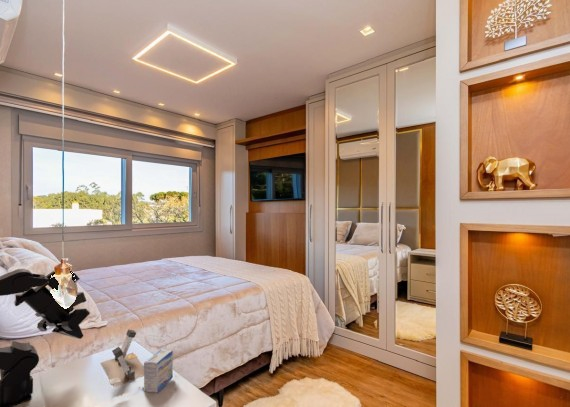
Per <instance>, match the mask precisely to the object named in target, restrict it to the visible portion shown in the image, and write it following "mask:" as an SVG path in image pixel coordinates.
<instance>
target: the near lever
mask: <svg viewBox="0 0 570 407" xmlns="http://www.w3.org/2000/svg"><path fill="white" fill-rule="evenodd" d="M111 352H112V354H113V356H114V358H115V357H116V359H117V358H118V360H119V362H120V364H121V366H122V368H123V370H124V372H125V374H126V375H127V377H128V373H129V372H131V371H130V369H129V367H128V365H127V364H126V362H125V360H124V358H123V356H122V355H123V352H122V350H121V347H120V346H117V347H115V348H114V349H113V350H111Z"/></svg>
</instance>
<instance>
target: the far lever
mask: <svg viewBox="0 0 570 407" xmlns="http://www.w3.org/2000/svg"><path fill="white" fill-rule="evenodd" d="M136 335H137V332H136V331H135V330H133V329H127V331H126V336H125V338H124V341H123V344H122V346H121V347H120V349H121V350H122V352H123V355H122V356H124V358H125V355H127V354H128V351H129V348H130V347H131V343H132V341H133V339H134V338H135V337H136Z"/></svg>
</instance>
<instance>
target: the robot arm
mask: <svg viewBox="0 0 570 407" xmlns="http://www.w3.org/2000/svg"><path fill="white" fill-rule="evenodd" d="M69 270H71V269H70V268H69ZM72 271H73V270H71V271H70V273H71V272H72ZM73 272H74V271H73ZM73 272H72V273H73ZM72 273H71V274H72ZM54 274H55V272H54V270H52V271H51V272H50V273H49V274H40V273H32V272H31V271H30V270H29V269H26V268H18V269H15V270H12V271H9V272H7V273H5V274H3V275H0V297H3V296H10V295H14V296H15V297H14V298H15V299H14V302H13V303H14V306H15V307H19V306H20V305H21V304H22V303H25V304H26V305H27V306H29V307H30V308H31V309H32V310H33V311H34V312H35V314H34V316H36V317H38V318H40V317H41V318H42V319H40V321H39V322H38V323H37V327H36V328H37V329H38V331H40V332H46V331H47V330H48V327H50V328H52V329H53V330H52V331H51V332H52V333H55V334H59V335H63V336H67V337H71V338H74V339H78V340H81V339H83V337H84V334H83V331H82V329H81V327H80V324H81V323H83V321H84V320H85V319H86V318H87V317H88V316H90V314H91V312H90V311H89V310H88V309H87V308H77V309H75V308H74V307H76V306H78V305H80V304H82V303H85V302H87V298H86V295H85V293H84V291H79V292H76V293H77V297H76V300H75V302H74V303H73V304H72V305H71V306H70V307H69V308H67V309H64V308H63V307H61V306H60V305H59V304H58V303H57V302H56V301H55V299H54V298H53V296H52V294H51V293H50V289H51V290H53V289H54V288H55V289H56V290H58V285H59V283H58V281H57V280H56V279H55V277H53V278H51V275H52V276H53V275H54ZM74 275H75V277H73V276H74ZM50 278H51V279H50ZM75 279H76V281H74V280H75ZM72 280H73V281H74V284H75V283H77V282H78V281H79V280H81V279H80V277H79V276H78V275H77V274H76V273H75V272H74V273H73V274H72ZM47 286H48V287H49V288H50V289H49V288H48V287H47ZM20 293H21V294H20ZM10 344H11V345H9V346H4V347H0V407H13V406H16V405H19V404H21V403H24V402H26V401H30V400H31V399H32V394H33V393H34V379H33V375H31V372H32V371H33V370H34V369H35V368H36V367H37V366H38V364H39V362H40V357H39V354H38V351H37V348H36V347H35V346H34V345H31V343H30V342H20V341H16V340H13V341H11V343H10Z"/></svg>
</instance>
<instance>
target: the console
mask: <svg viewBox="0 0 570 407" xmlns="http://www.w3.org/2000/svg"><path fill="white" fill-rule="evenodd" d="M123 358H124V356H123ZM124 360H125V362H126V364H127V365H128V367H129V369H130V371H131V372H129V373H128V377H127V375H126V374H125V372H124V370H123V368H122V366H121V364H120V362H119V360H118V358H117V359H116V357H115V356H114V358H112V359H108V360H105V361H102V362H100V365H101V367H102V368H103V370H104V372H105V374H106V376H107V377H108V380H109V382H110V384H111V385H112V387H113V388H115V387H118V386H120V385H123V384H126V383H128V382H131V381H134V380H137V379H139V378H142V377H144V363H142V362H141V360H140V359H139V358H138V355H136V353H134V352H131V353H126V355H125V358H124Z"/></svg>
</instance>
